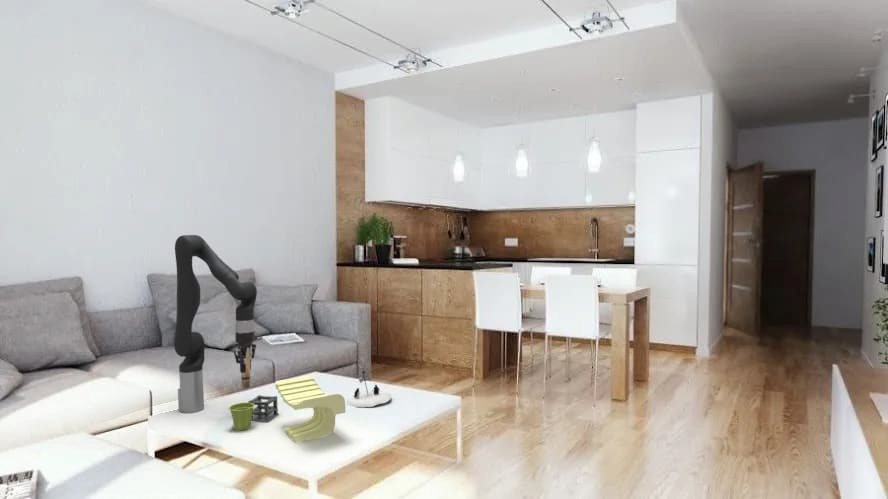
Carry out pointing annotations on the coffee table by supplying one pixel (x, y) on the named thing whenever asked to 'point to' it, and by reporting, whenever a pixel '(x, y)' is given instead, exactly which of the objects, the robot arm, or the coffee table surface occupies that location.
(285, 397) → the slatted curved stool
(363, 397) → the figurine
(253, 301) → the robot arm
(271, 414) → the metal frame cube
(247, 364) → the tube
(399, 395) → the coffee table surface
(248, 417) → the plant pot
